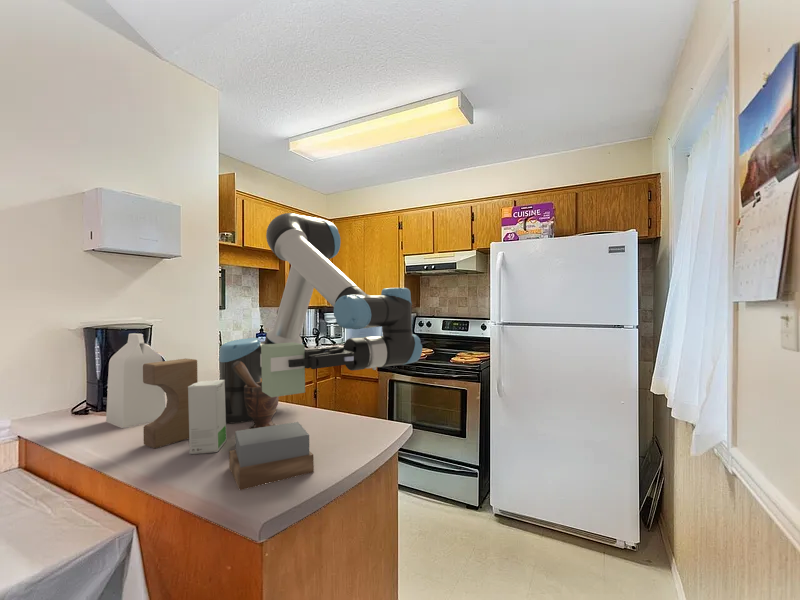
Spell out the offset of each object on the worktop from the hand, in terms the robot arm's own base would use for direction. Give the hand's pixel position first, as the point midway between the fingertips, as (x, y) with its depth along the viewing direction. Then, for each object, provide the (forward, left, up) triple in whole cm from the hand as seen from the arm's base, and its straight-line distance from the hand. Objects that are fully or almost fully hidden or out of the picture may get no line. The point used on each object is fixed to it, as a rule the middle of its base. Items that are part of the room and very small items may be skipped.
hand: (266, 362), depth 82 cm
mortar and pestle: (-23, +3, -22) cm, 32 cm away
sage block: (0, +4, -7) cm, 7 cm away
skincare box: (-21, -9, -22) cm, 32 cm away
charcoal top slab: (+1, +1, -18) cm, 18 cm away
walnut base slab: (+1, 0, -22) cm, 22 cm away
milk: (-60, -24, -22) cm, 68 cm away
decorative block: (-32, -16, -22) cm, 42 cm away
